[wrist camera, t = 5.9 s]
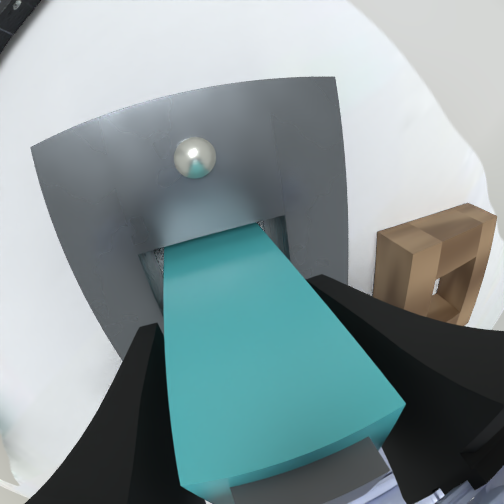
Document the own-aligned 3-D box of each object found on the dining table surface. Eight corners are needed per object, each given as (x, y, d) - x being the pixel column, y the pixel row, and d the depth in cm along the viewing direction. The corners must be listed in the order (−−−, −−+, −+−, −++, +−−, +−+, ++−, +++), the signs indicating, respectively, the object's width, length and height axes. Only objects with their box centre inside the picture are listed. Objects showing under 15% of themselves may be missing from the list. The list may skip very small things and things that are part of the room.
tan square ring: (447, 305, 21) (467, 322, 18) (365, 351, 19) (385, 377, 17) (467, 202, 16) (497, 216, 14) (377, 231, 15) (413, 254, 12)
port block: (319, 334, 17) (344, 370, 14) (164, 381, 15) (168, 425, 12) (297, 85, 10) (339, 75, 7) (63, 141, 9) (26, 148, 6)
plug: (258, 279, 14) (380, 487, 4) (187, 300, 13) (242, 538, 4) (245, 210, 12) (432, 437, 3) (164, 232, 11) (190, 531, 2)
